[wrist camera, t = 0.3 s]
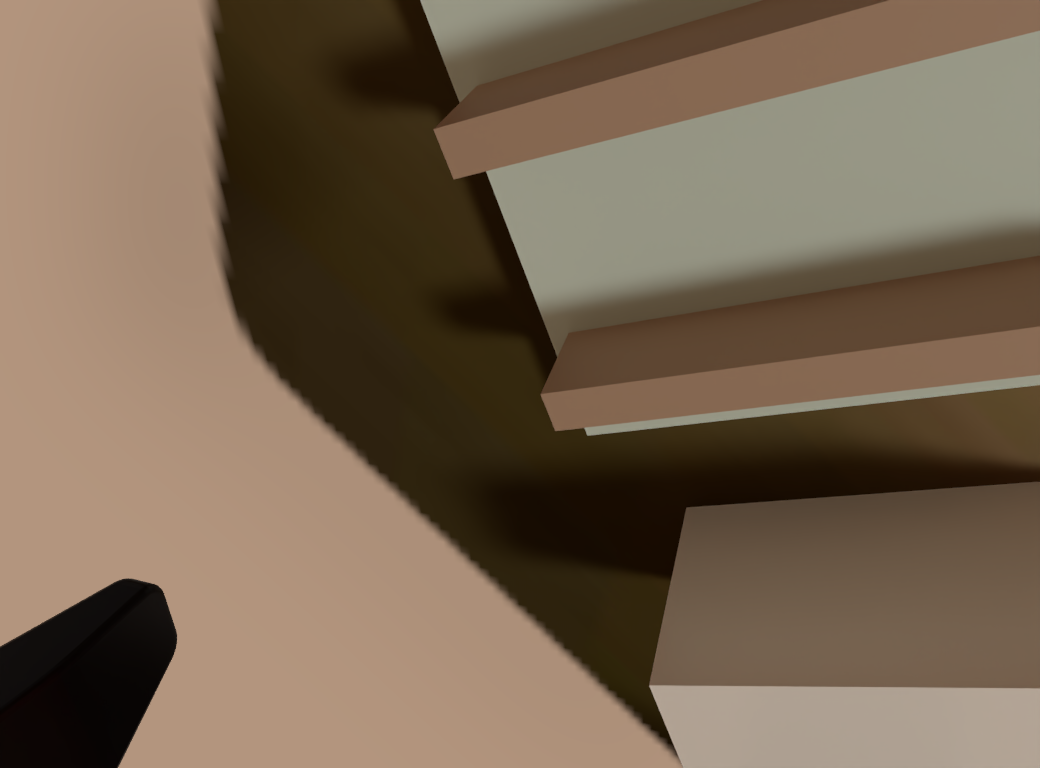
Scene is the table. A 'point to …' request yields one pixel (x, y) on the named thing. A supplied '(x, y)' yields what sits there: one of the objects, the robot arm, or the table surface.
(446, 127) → the slotted stand
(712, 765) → the grey rectangular block
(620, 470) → the table surface
